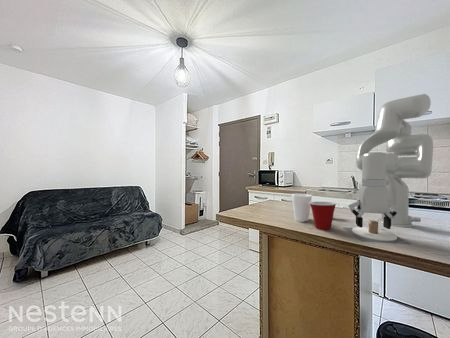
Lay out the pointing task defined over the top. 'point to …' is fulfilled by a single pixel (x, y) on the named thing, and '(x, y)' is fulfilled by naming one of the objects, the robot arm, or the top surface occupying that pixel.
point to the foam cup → (301, 206)
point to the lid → (374, 232)
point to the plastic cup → (323, 214)
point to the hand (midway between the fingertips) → (373, 227)
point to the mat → (399, 240)
